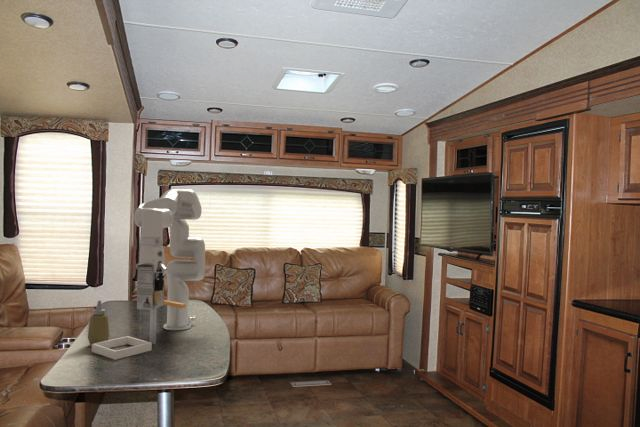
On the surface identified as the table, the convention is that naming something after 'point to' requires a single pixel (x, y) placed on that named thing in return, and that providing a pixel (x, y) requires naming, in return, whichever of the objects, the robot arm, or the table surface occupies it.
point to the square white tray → (137, 344)
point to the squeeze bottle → (98, 325)
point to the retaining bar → (174, 304)
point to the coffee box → (148, 289)
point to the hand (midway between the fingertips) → (150, 289)
